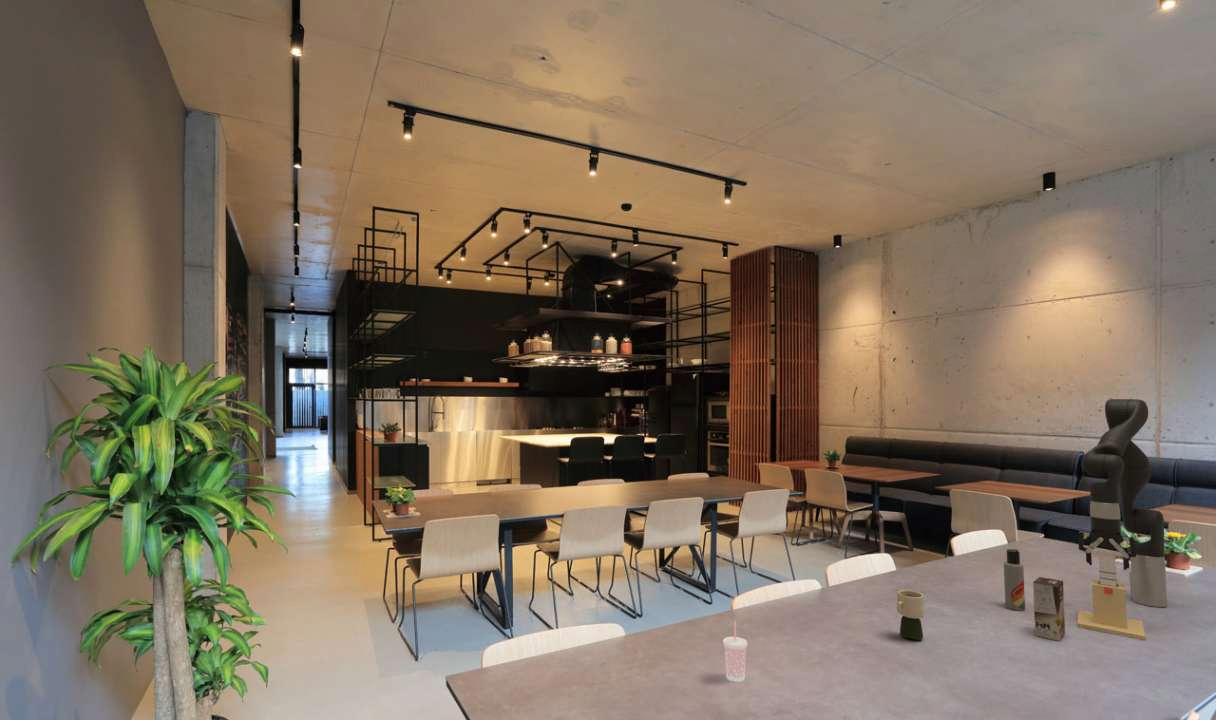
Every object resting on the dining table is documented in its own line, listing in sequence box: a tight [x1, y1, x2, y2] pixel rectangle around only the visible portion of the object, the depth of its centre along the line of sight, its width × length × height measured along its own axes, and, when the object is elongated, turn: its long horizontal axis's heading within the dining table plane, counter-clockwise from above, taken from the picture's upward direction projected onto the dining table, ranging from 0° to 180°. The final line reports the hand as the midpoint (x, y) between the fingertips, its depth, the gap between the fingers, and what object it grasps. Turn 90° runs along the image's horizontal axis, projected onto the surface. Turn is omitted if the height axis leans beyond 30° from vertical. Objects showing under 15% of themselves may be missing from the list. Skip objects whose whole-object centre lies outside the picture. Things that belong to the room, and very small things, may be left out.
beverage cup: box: [722, 620, 748, 683], centre depth 152 cm, size 6×6×14 cm
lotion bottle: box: [1003, 548, 1026, 612], centre depth 207 cm, size 6×6×20 cm
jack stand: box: [1077, 578, 1146, 641], centre depth 190 cm, size 16×16×13 cm
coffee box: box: [1032, 576, 1066, 642], centre depth 183 cm, size 9×6×16 cm
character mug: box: [896, 589, 925, 640], centre depth 179 cm, size 11×7×13 cm, turn 114°
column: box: [1098, 553, 1118, 587], centre depth 191 cm, size 4×4×20 cm
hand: (1107, 567), depth 191 cm, fingers open, 8 cm apart
